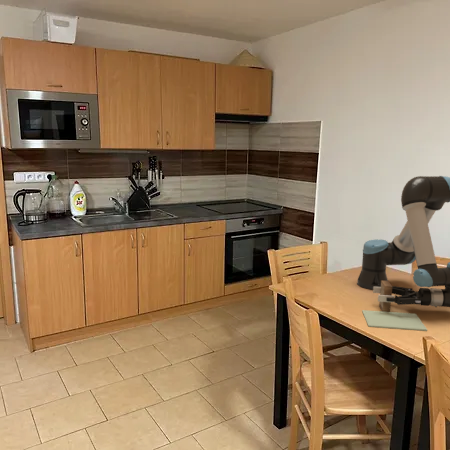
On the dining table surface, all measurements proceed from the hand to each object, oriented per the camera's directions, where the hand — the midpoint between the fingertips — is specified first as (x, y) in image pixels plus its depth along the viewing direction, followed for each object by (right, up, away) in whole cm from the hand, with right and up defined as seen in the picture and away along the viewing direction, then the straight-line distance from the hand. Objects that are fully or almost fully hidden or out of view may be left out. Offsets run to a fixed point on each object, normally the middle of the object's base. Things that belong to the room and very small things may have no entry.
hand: (375, 293), depth 185 cm
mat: (+3, -9, -11) cm, 15 cm away
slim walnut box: (+4, -7, +1) cm, 8 cm away
